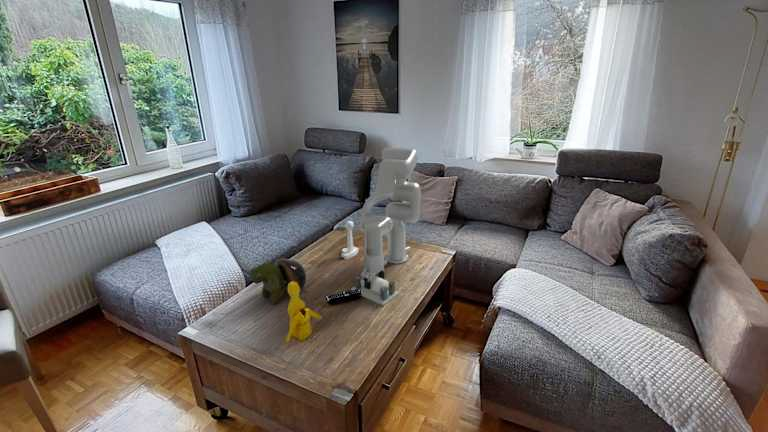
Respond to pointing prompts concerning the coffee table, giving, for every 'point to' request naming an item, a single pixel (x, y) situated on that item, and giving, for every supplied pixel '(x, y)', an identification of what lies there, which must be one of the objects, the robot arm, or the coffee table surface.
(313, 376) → the coffee table surface
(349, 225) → the joystick
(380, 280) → the paper roll
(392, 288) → the roll holder
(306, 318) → the figure statuette
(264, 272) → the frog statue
